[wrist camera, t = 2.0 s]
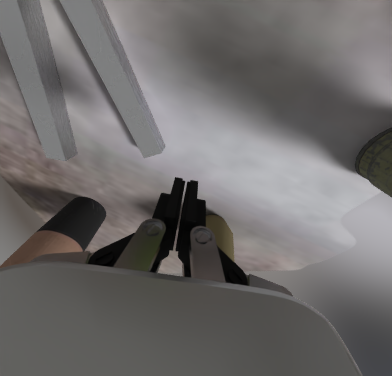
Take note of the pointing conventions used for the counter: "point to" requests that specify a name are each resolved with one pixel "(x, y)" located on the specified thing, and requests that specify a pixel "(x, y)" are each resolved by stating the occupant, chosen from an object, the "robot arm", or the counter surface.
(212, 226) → the squeeze bottle
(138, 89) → the arm
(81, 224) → the travel mug
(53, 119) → the base
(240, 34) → the counter surface
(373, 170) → the thermos
